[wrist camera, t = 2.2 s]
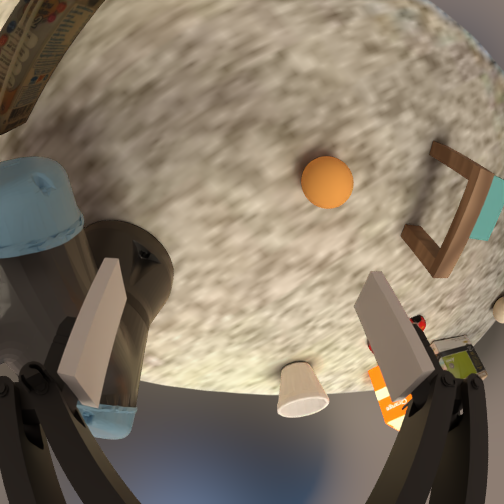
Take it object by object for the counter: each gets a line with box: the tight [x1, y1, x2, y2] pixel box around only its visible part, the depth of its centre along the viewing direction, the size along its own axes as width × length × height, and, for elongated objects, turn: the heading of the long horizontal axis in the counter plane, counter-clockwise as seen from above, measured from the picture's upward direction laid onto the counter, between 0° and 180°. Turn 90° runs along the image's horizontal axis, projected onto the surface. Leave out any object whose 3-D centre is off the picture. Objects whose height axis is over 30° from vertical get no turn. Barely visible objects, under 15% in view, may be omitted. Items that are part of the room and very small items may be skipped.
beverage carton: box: [0, 0, 105, 135], centre depth 15 cm, size 8×19×7 cm, turn 134°
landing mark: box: [469, 176, 504, 241], centre depth 34 cm, size 12×12×1 cm
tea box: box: [430, 335, 488, 380], centre depth 54 cm, size 15×10×15 cm, turn 82°
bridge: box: [401, 141, 495, 278], centre depth 29 cm, size 3×14×9 cm, turn 174°
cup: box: [277, 362, 329, 417], centre depth 51 cm, size 10×10×9 cm
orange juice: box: [368, 366, 412, 431], centre depth 52 cm, size 8×9×20 cm
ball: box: [301, 156, 353, 209], centre depth 28 cm, size 6×6×6 cm
